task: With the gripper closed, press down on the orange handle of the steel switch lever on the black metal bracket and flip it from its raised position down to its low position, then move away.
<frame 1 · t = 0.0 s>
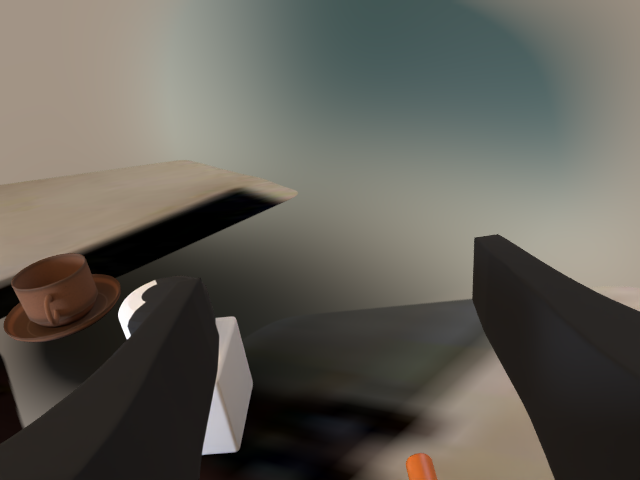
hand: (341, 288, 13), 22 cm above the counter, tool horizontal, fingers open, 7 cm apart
medicine bottle: (204, 421, 39), on the counter
cup and saucer: (71, 318, 56), on the counter
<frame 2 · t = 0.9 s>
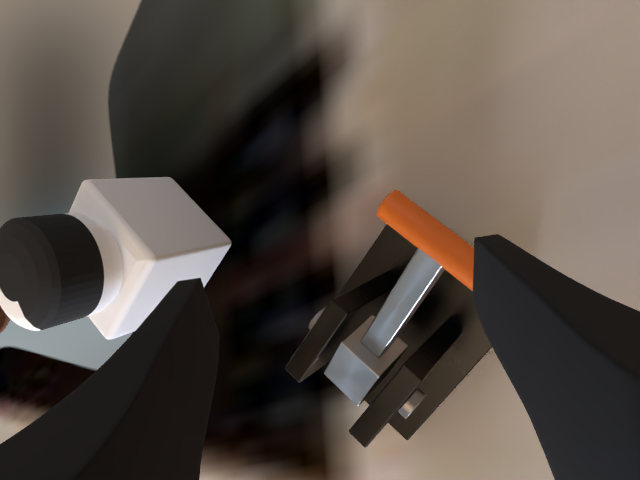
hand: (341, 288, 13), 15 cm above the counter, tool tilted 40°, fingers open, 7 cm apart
medicine bottle: (182, 244, 36), on the counter
switch lever: (394, 315, 21), point 7 cm above the counter, hinge at 22.0°
switch bracket: (408, 323, 28), on the counter
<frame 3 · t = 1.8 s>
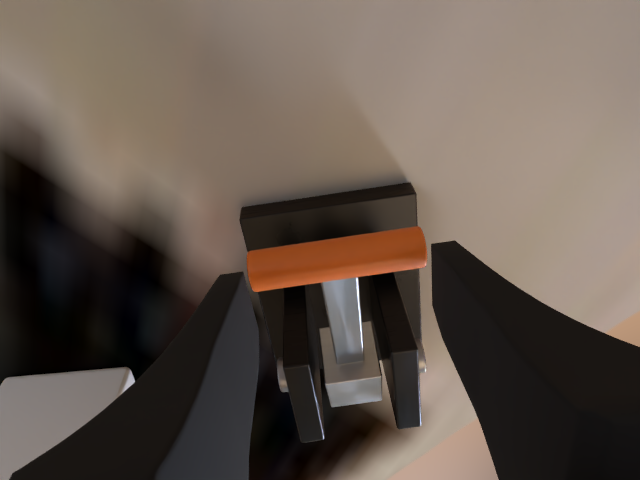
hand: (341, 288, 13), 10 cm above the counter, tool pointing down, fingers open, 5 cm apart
medicine bottle: (88, 408, 30), on the counter
switch lever: (345, 326, 18), point 7 cm above the counter, hinge at 22.0°
switch bracket: (337, 279, 26), on the counter
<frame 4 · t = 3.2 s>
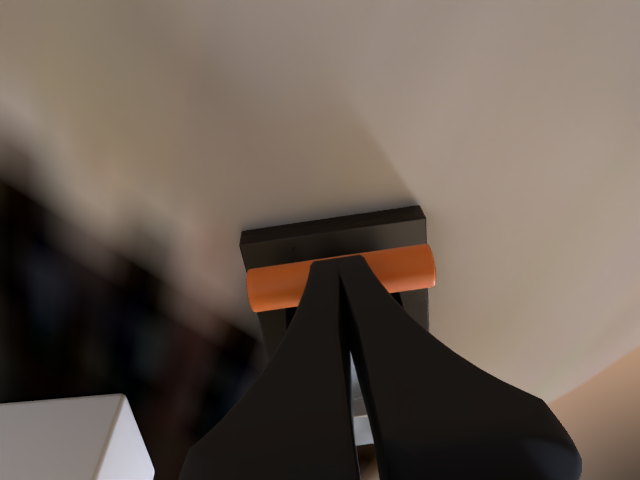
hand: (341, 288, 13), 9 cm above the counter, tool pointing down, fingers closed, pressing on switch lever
medicine bottle: (81, 434, 29), on the counter
switch lever: (351, 356, 17), point 7 cm above the counter, hinge at 16.0°, touching gripper
switch bracket: (342, 304, 25), on the counter
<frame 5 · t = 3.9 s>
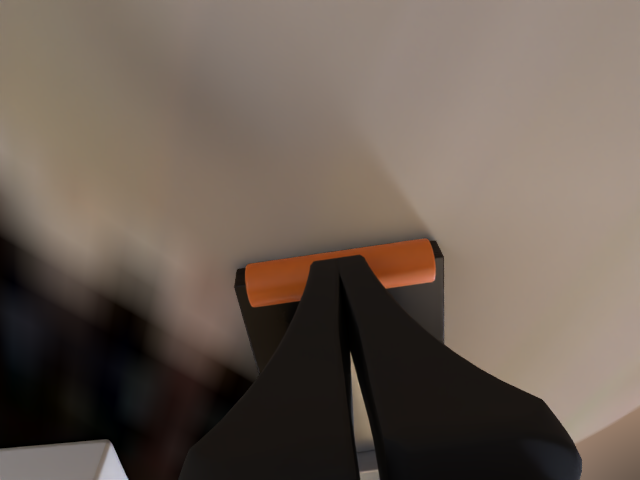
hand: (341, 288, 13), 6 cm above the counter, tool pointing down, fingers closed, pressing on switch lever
switch lever: (356, 391, 16), point 6 cm above the counter, hinge at -4.1°, touching gripper
switch bracket: (348, 345, 22), on the counter
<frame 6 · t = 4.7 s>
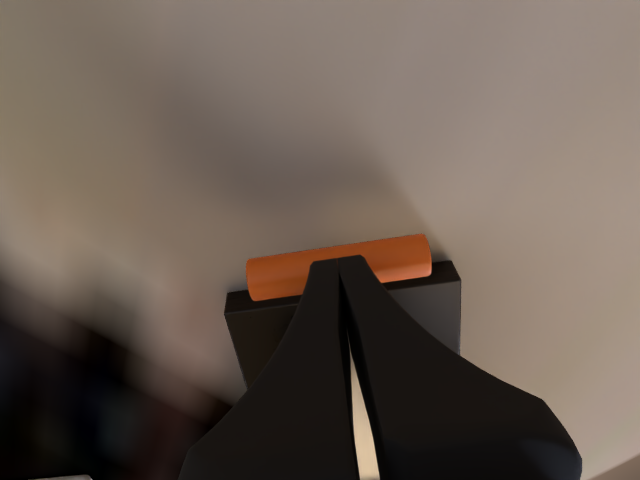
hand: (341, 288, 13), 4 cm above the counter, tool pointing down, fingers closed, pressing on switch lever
switch lever: (359, 413, 15), point 5 cm above the counter, hinge at -23.4°, touching gripper
switch bracket: (352, 374, 20), on the counter
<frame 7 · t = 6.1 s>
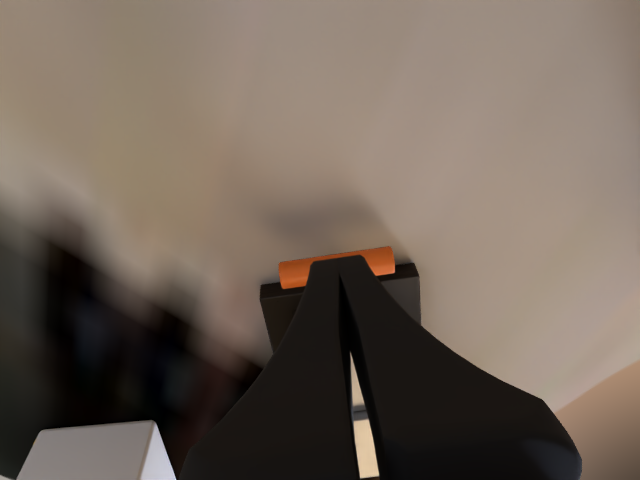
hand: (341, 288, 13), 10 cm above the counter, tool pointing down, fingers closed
medicine bottle: (114, 455, 33), on the counter
switch lever: (350, 361, 23), point 5 cm above the counter, hinge at -23.4°
switch bracket: (347, 344, 28), on the counter
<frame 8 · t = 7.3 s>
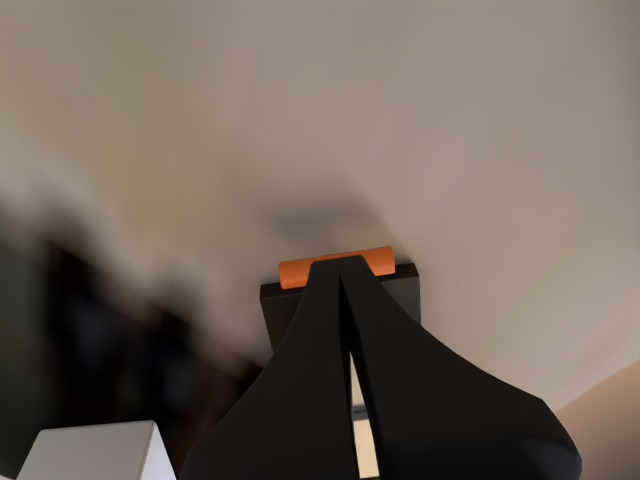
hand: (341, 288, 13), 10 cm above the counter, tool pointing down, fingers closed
medicine bottle: (114, 455, 33), on the counter
switch lever: (350, 361, 23), point 5 cm above the counter, hinge at -23.4°
switch bracket: (347, 344, 28), on the counter
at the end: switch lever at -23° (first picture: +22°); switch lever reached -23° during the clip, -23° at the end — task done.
